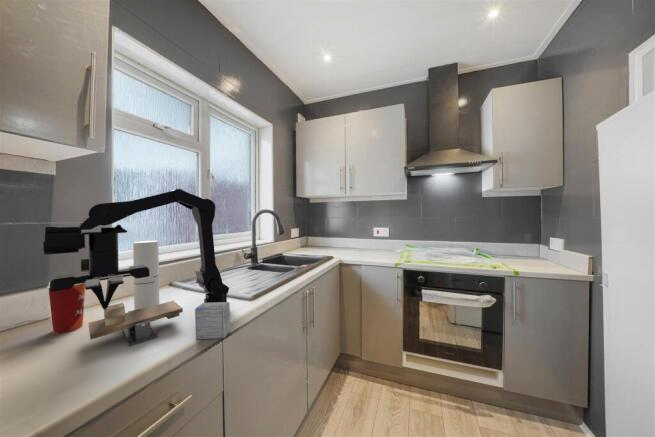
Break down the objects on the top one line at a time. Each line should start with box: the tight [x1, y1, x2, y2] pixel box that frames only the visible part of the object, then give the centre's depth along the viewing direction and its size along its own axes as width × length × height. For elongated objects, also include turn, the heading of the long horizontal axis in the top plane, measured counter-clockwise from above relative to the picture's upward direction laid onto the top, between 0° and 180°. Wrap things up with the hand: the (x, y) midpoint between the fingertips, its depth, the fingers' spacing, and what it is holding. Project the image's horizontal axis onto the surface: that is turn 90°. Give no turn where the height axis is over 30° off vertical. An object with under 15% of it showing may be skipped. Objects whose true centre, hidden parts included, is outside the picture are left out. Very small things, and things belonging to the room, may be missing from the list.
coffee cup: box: [46, 281, 86, 334], centre depth 71 cm, size 8×8×15 cm
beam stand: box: [122, 309, 158, 347], centre depth 68 cm, size 6×15×5 cm, turn 47°
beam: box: [88, 300, 184, 341], centre depth 68 cm, size 20×10×3 cm, turn 137°
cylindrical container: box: [132, 240, 160, 310], centre depth 84 cm, size 7×7×25 cm
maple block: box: [103, 302, 126, 326], centre depth 64 cm, size 4×4×4 cm
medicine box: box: [194, 301, 231, 340], centre depth 66 cm, size 8×4×9 cm, turn 92°
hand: (105, 308), depth 63 cm, fingers closed
